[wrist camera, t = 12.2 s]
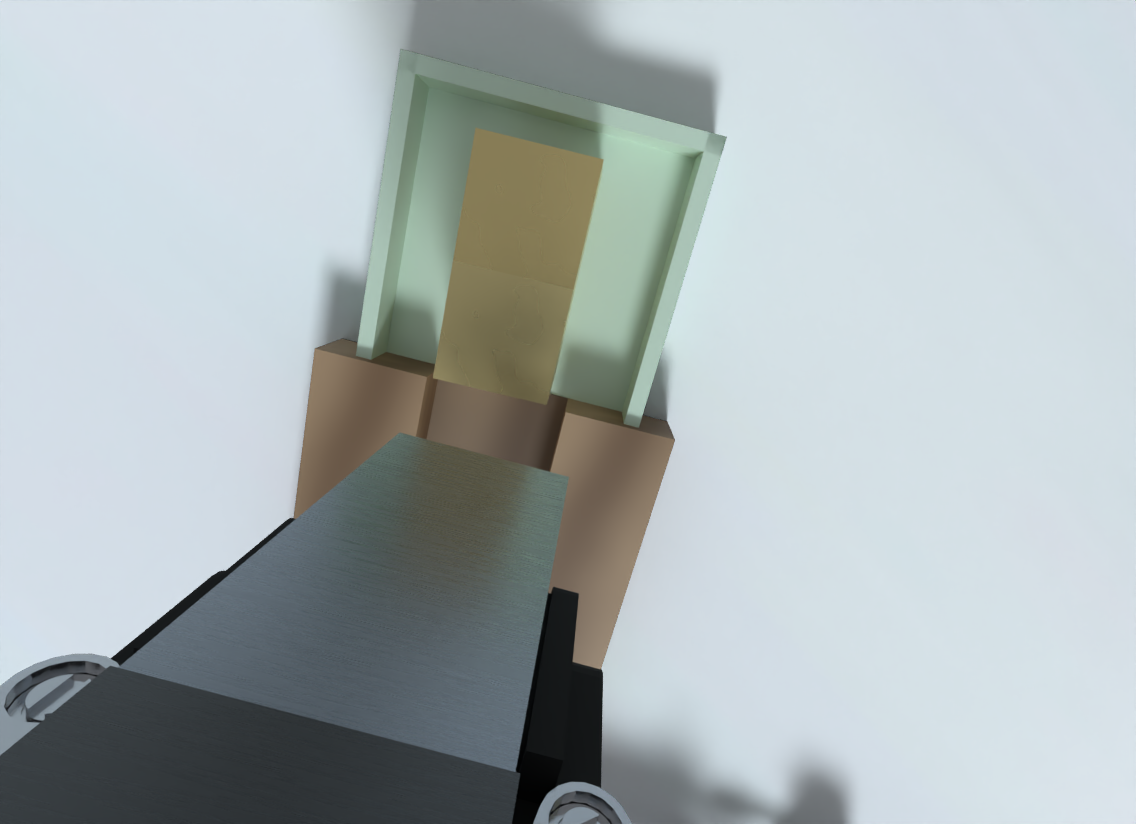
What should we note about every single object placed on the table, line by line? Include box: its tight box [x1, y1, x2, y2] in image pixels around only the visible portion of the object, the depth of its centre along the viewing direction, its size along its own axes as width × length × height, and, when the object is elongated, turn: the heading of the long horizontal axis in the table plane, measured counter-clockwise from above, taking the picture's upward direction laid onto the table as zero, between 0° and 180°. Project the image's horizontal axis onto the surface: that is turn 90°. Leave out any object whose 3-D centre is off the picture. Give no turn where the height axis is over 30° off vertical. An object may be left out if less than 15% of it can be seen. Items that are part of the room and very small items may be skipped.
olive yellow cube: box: [433, 261, 577, 405], centre depth 21 cm, size 4×4×4 cm
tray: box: [356, 49, 727, 428], centre depth 21 cm, size 11×11×2 cm
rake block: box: [0, 433, 569, 824], centre depth 10 cm, size 4×5×11 cm
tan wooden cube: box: [453, 128, 604, 290], centre depth 20 cm, size 4×4×4 cm
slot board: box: [294, 339, 675, 669], centre depth 25 cm, size 14×18×2 cm
